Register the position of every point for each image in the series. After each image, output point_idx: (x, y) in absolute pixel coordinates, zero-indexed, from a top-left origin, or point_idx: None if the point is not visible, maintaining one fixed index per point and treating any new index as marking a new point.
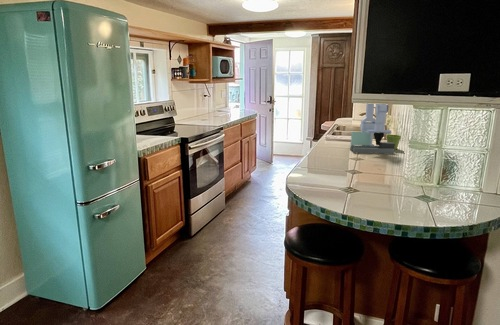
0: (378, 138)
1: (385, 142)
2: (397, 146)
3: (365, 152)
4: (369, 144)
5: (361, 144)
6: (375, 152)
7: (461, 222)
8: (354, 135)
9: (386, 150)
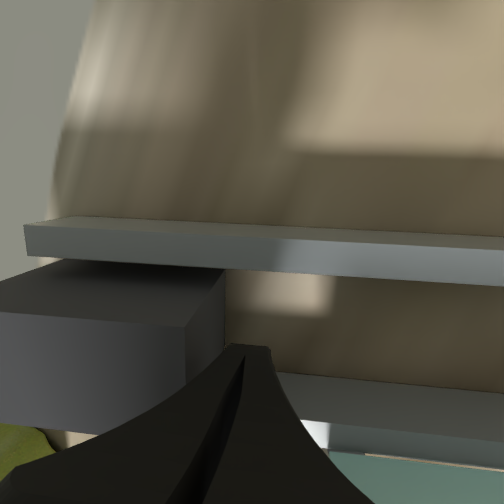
0: (253, 426)
1: (78, 413)
2: None
3: (474, 237)
4: (344, 466)
5: (490, 481)
6: (319, 229)
7: None
8: None
9: (152, 227)
